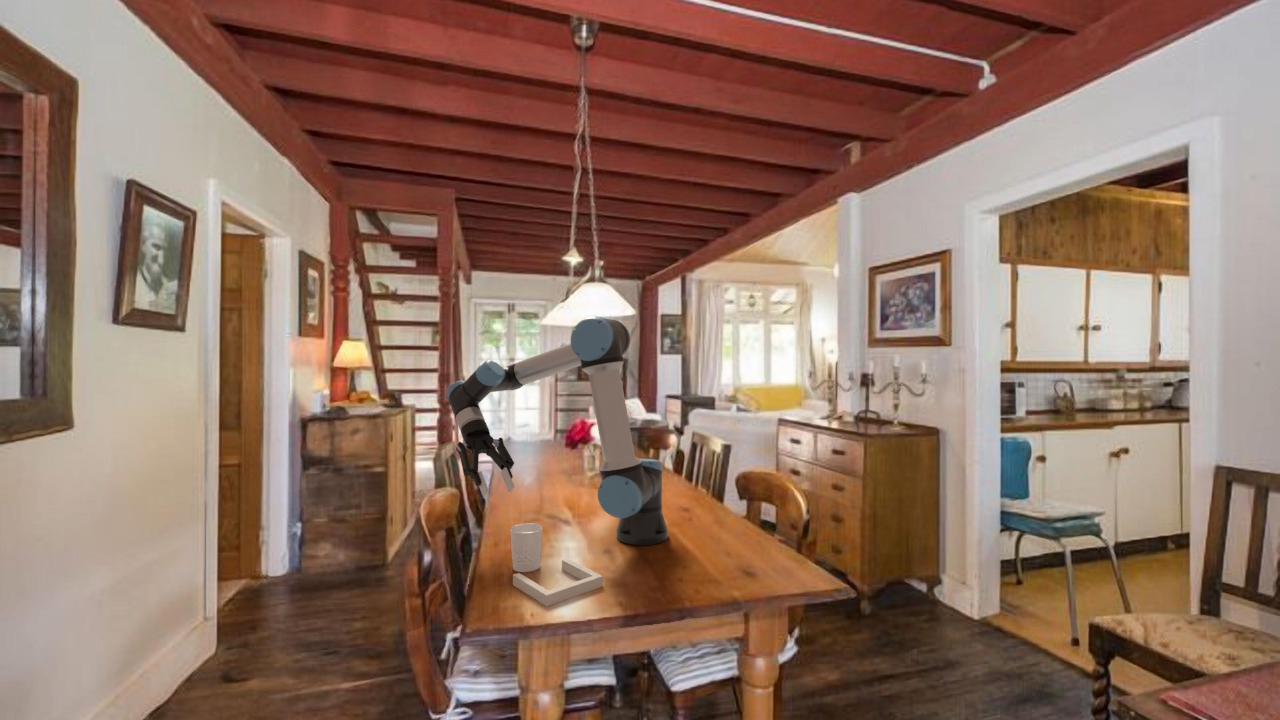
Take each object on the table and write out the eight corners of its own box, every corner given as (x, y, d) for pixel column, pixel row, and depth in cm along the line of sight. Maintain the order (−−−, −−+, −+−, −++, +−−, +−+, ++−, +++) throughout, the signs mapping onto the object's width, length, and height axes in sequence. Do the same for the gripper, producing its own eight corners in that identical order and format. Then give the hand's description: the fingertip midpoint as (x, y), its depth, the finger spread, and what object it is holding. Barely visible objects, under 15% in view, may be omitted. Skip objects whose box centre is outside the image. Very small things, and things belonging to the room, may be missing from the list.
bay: (512, 584, 127) (512, 574, 127) (567, 567, 137) (567, 558, 137) (546, 606, 116) (546, 595, 116) (602, 586, 126) (602, 576, 126)
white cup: (527, 576, 132) (527, 535, 132) (503, 569, 137) (503, 529, 136) (548, 565, 139) (548, 526, 139) (526, 559, 143) (526, 521, 143)
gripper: (499, 431, 169) (526, 493, 157) (436, 437, 155) (460, 506, 144) (507, 415, 165) (535, 478, 153) (443, 420, 151) (468, 490, 140)
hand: (499, 491), depth 148 cm, fingers open, 7 cm apart
